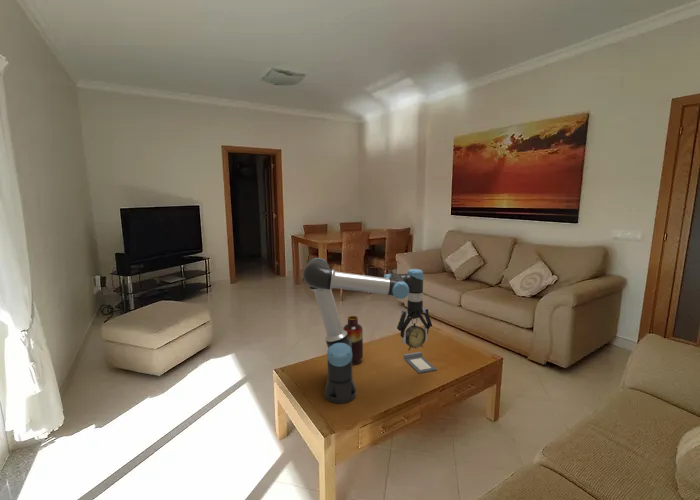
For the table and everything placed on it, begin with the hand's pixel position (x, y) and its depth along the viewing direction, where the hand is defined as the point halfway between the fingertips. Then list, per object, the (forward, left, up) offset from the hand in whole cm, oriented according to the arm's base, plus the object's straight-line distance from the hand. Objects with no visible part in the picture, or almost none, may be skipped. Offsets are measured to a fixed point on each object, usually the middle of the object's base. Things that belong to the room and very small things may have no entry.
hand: (414, 341), depth 172 cm
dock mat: (+10, +11, -20) cm, 25 cm away
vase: (-24, +28, -20) cm, 42 cm away
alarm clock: (0, 0, -4) cm, 4 cm away
